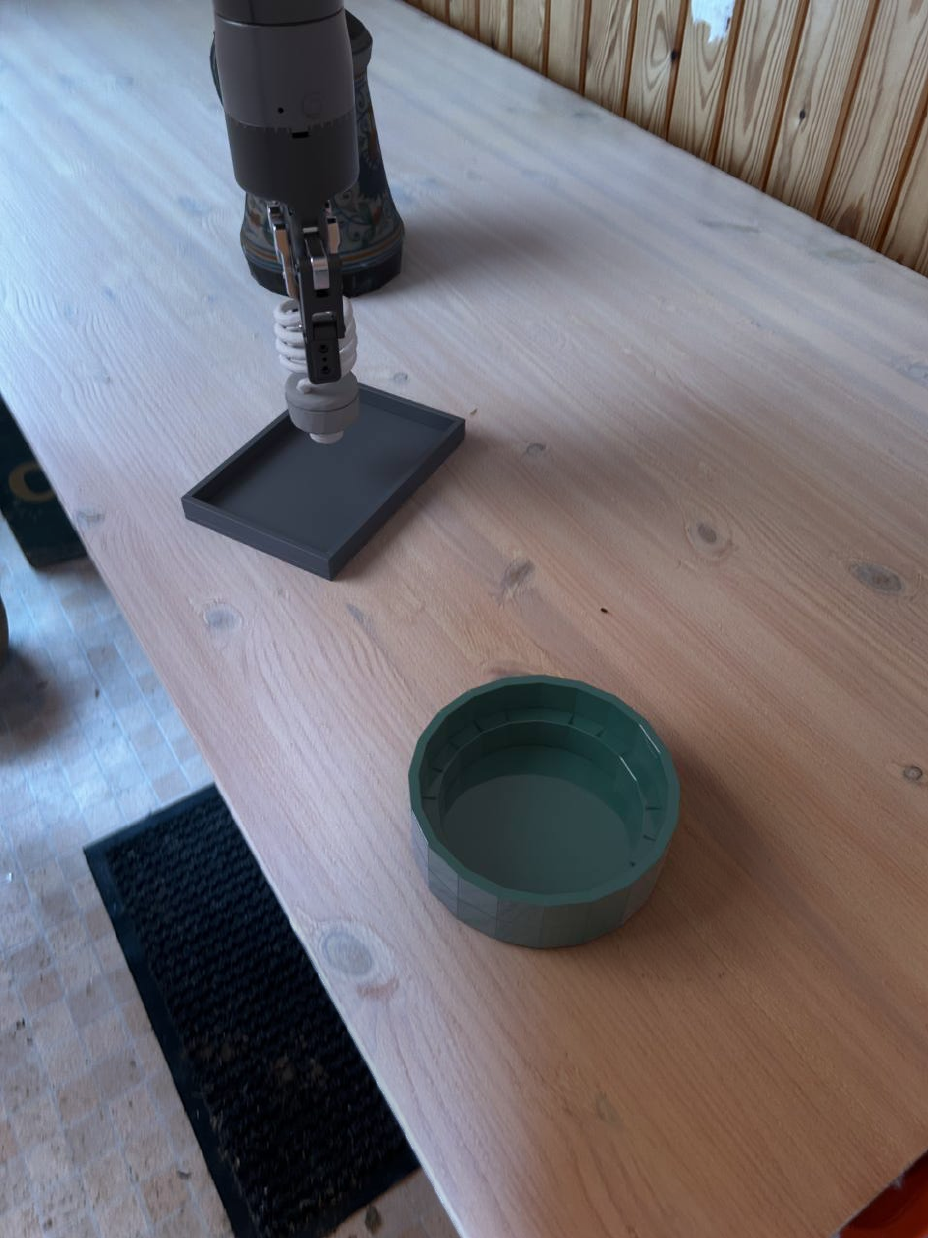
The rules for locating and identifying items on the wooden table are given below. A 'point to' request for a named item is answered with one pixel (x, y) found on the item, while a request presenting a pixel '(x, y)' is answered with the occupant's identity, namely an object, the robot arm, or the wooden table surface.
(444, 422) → the tray
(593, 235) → the wooden table surface
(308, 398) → the light bulb
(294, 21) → the robot arm
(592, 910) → the bowl
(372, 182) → the beer stein
